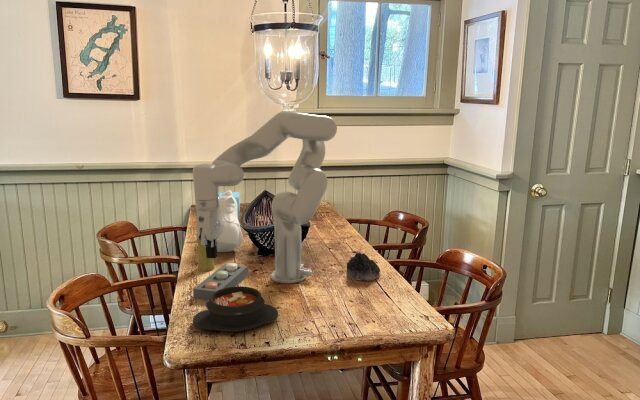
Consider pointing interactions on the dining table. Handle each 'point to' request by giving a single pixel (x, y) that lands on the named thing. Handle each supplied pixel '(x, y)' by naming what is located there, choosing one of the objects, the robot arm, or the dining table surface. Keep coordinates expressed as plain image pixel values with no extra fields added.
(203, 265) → the vase
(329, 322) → the dining table surface
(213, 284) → the terracotta button
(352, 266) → the crystal cluster
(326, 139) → the robot arm
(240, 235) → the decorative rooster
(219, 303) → the casserole
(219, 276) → the sage button
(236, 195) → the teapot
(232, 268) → the cream rounded piece
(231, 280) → the button panel
